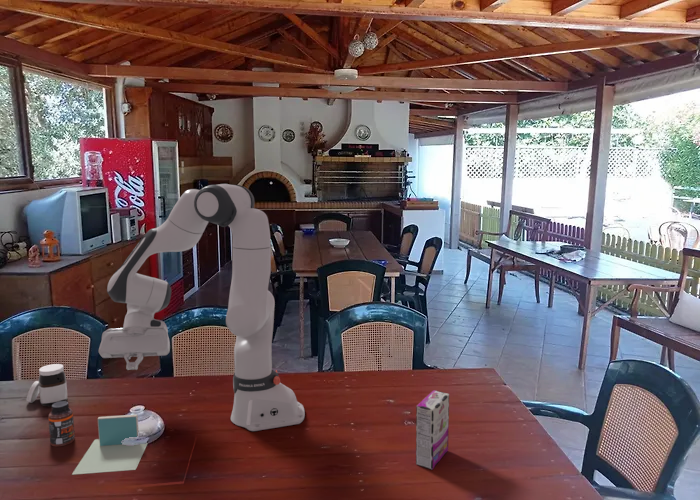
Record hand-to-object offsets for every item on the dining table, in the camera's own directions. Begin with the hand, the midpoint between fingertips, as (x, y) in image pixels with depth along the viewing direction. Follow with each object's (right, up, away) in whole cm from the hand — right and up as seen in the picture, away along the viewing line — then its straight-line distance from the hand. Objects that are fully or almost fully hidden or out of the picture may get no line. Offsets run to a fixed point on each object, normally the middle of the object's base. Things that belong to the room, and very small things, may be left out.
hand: (131, 368), depth 154 cm
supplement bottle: (-14, -18, -12) cm, 26 cm away
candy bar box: (+87, -19, -18) cm, 91 cm away
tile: (+2, -17, -13) cm, 22 cm away
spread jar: (-33, -14, +13) cm, 38 cm away
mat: (+3, -19, -18) cm, 26 cm away
